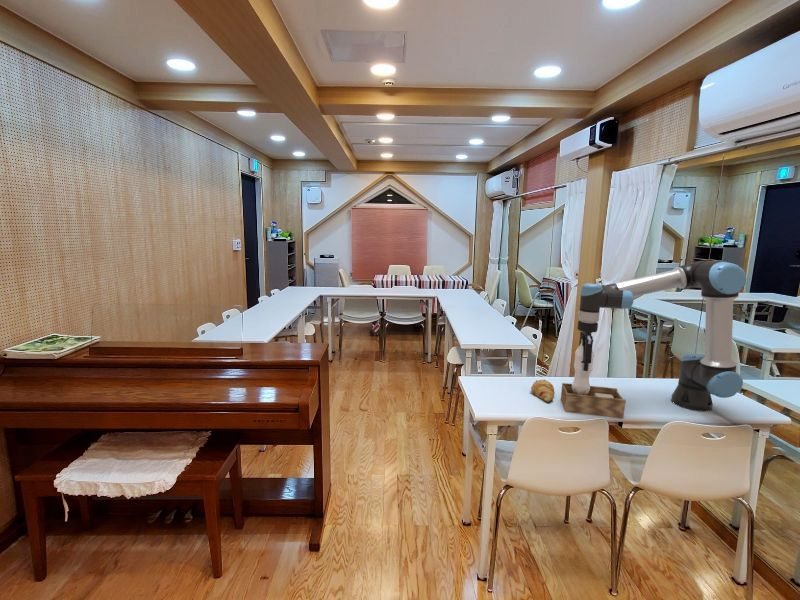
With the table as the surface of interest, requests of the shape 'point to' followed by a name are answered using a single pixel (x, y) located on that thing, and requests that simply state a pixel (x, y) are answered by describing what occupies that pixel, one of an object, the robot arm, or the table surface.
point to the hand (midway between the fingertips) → (582, 374)
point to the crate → (593, 402)
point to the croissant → (543, 390)
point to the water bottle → (580, 383)
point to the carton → (603, 395)
